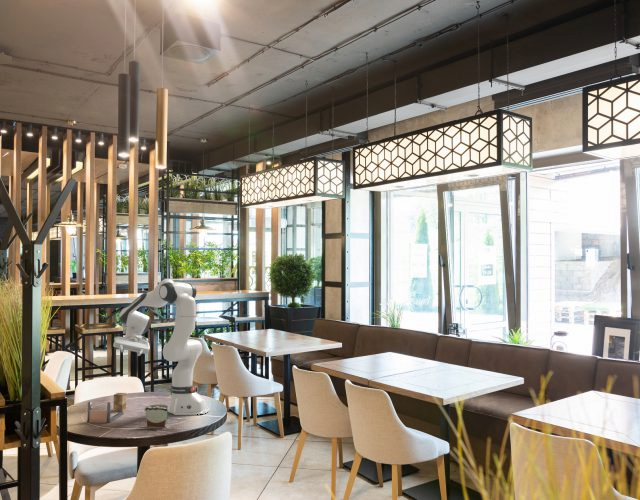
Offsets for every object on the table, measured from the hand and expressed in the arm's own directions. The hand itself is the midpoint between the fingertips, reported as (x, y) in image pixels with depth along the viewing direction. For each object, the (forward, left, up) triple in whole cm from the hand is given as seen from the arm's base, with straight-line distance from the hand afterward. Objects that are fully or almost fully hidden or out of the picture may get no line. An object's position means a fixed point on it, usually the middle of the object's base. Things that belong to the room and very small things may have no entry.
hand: (130, 353), depth 316 cm
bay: (+2, +24, -30) cm, 39 cm away
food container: (-30, +35, -31) cm, 56 cm away
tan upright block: (+2, +8, -30) cm, 32 cm away
